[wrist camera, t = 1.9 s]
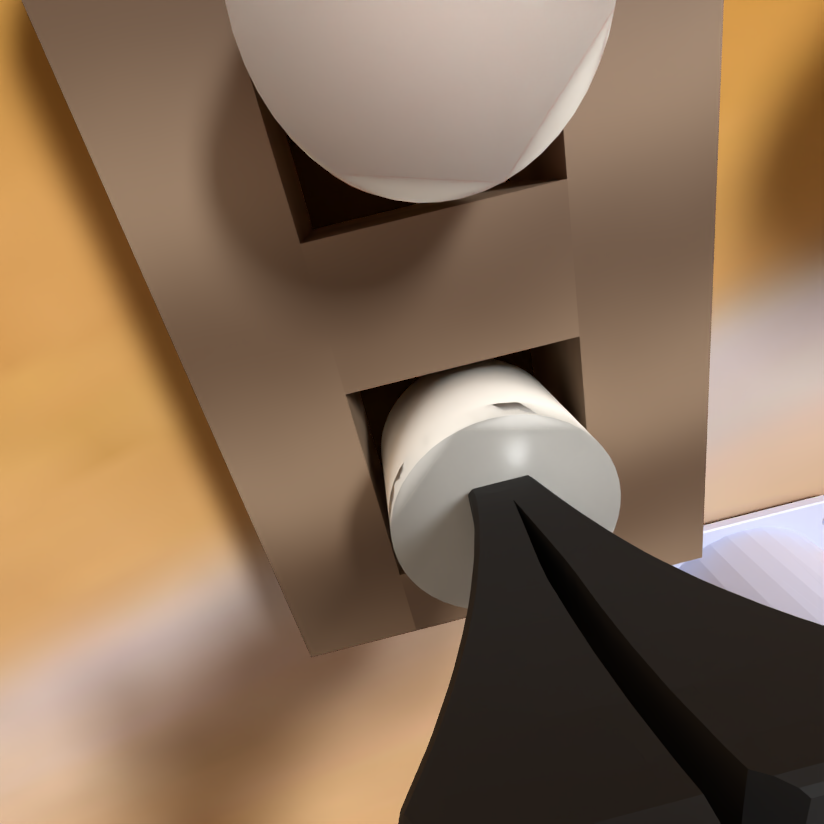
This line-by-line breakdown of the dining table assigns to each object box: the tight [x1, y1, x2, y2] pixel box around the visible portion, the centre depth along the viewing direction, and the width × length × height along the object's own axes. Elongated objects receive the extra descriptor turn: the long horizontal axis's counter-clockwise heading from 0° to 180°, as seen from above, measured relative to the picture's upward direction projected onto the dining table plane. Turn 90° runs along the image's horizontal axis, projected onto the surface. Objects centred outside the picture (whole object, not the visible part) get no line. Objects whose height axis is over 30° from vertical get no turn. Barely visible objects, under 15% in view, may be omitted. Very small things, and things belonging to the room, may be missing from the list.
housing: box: [22, 0, 724, 657], centre depth 13 cm, size 19×12×4 cm, turn 12°
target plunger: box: [225, 0, 616, 203], centre depth 8 cm, size 5×5×4 cm
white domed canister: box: [381, 359, 621, 608], centre depth 12 cm, size 5×5×4 cm
